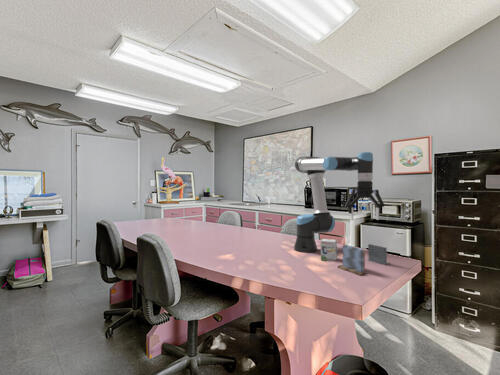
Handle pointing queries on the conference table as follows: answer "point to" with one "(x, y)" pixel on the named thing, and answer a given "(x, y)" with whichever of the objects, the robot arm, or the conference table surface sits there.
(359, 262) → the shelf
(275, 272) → the conference table surface
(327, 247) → the ink box
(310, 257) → the conference table surface
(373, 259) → the bookend
